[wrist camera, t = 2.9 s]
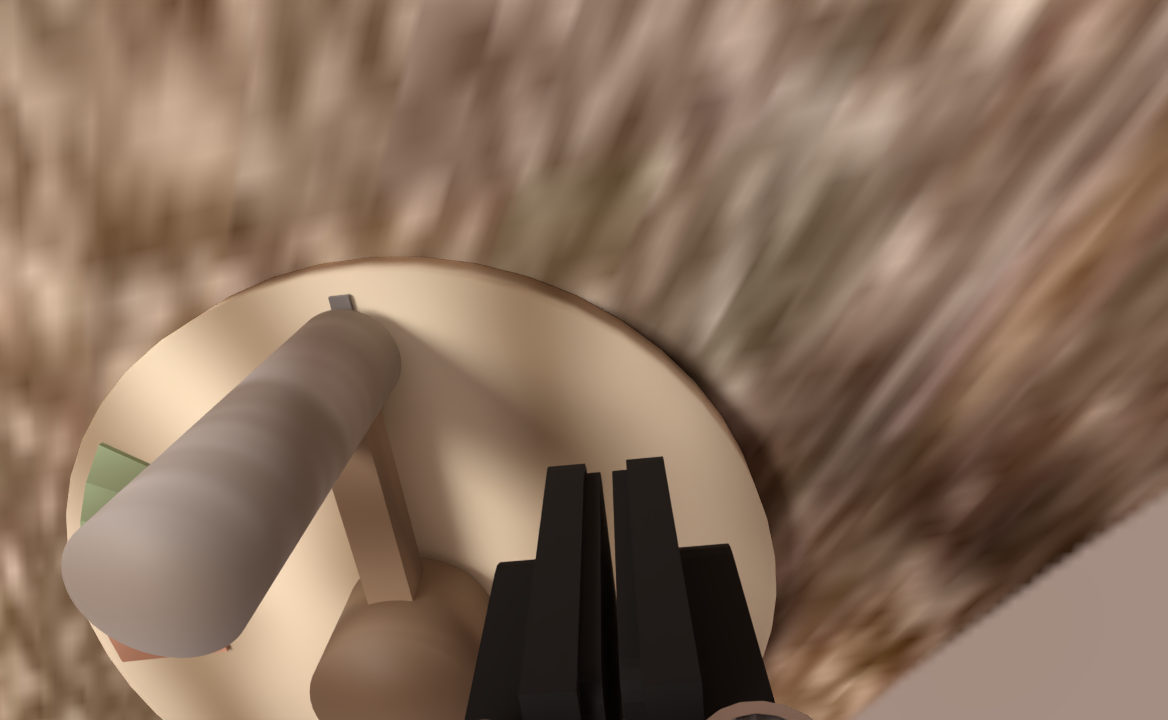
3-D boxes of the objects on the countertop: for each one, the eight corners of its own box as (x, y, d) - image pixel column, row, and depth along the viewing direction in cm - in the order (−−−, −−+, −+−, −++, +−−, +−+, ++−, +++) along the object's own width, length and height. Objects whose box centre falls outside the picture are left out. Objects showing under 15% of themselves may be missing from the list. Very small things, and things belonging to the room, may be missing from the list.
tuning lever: (507, 665, 21) (457, 997, 14) (368, 675, 22) (244, 1006, 14) (426, 297, 16) (282, 498, 9) (250, 316, 17) (-35, 526, 9)
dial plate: (579, 110, 16) (577, 115, 15) (853, 687, 24) (871, 729, 22) (-49, 444, 21) (-100, 474, 19) (351, 847, 28) (337, 892, 26)
